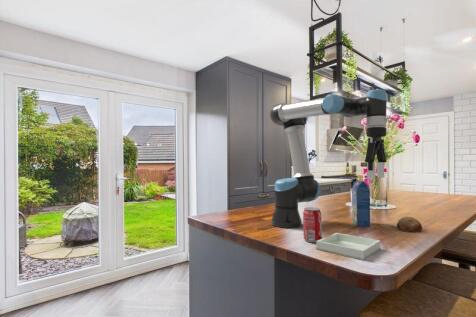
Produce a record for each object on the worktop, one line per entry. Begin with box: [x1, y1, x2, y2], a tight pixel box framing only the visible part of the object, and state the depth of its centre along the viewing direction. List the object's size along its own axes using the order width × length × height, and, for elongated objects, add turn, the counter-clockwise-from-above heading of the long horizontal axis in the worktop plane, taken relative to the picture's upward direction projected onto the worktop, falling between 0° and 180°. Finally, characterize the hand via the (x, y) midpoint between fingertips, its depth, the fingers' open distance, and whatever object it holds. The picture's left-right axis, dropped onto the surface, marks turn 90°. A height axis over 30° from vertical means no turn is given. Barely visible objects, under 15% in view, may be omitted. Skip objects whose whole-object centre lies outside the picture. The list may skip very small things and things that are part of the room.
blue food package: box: [351, 174, 371, 228], centre depth 142 cm, size 6×12×25 cm, turn 168°
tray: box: [315, 232, 381, 261], centre depth 101 cm, size 17×17×3 cm
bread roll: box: [396, 216, 423, 234], centre depth 130 cm, size 10×10×8 cm
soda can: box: [302, 206, 323, 244], centre depth 112 cm, size 7×7×13 cm
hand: (376, 178), depth 116 cm, fingers open, 13 cm apart
